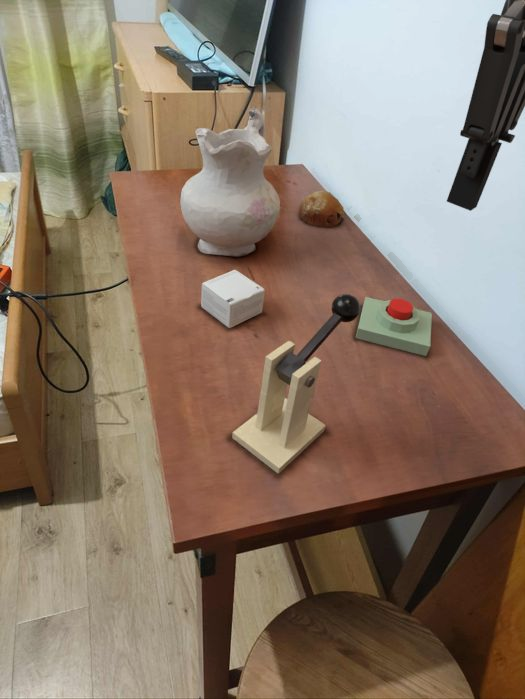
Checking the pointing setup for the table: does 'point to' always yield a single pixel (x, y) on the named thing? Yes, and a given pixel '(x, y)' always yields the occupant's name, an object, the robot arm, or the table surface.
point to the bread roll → (321, 209)
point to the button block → (395, 328)
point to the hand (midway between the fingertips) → (461, 204)
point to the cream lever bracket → (282, 413)
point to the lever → (320, 335)
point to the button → (400, 309)
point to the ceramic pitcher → (231, 190)
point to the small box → (232, 298)
